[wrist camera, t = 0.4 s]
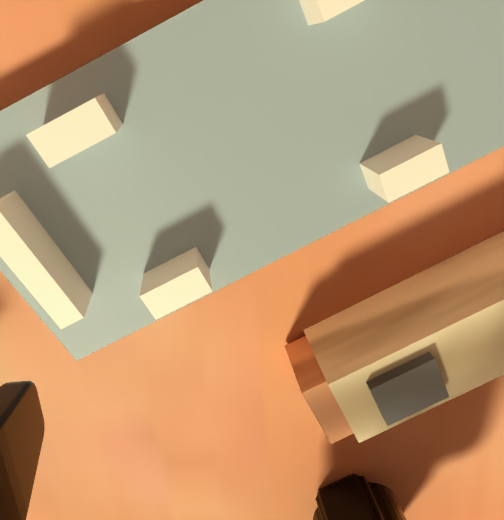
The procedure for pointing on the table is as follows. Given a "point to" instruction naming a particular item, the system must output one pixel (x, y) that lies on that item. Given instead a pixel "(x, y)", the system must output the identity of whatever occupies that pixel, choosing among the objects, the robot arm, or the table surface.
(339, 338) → the beam with grey square
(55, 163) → the jig
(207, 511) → the table surface
